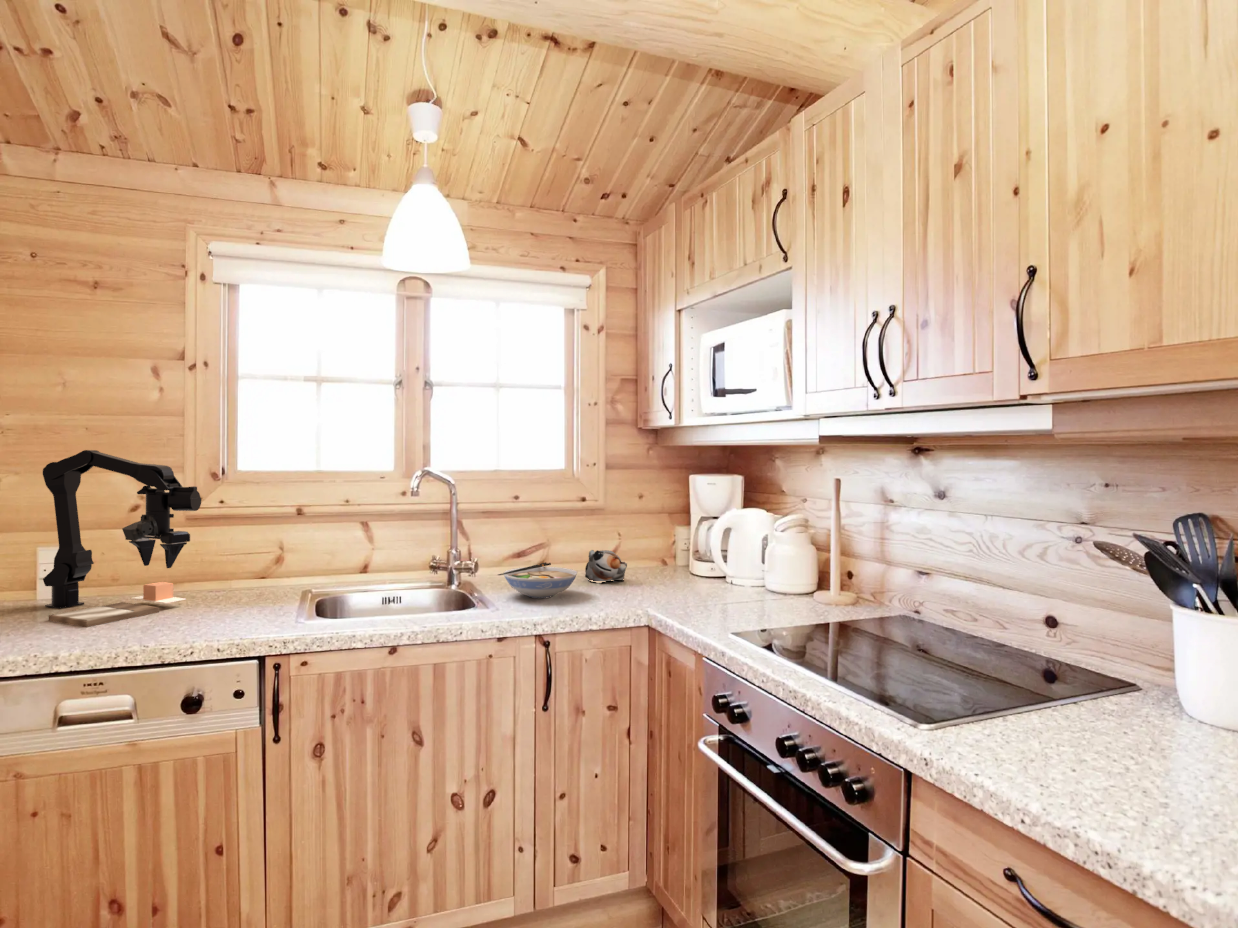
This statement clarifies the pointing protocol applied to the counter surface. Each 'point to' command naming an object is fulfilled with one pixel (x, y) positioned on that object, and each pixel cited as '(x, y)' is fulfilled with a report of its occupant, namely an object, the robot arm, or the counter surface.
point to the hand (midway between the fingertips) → (157, 566)
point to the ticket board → (103, 614)
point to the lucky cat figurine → (605, 566)
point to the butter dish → (158, 593)
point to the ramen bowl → (540, 580)
